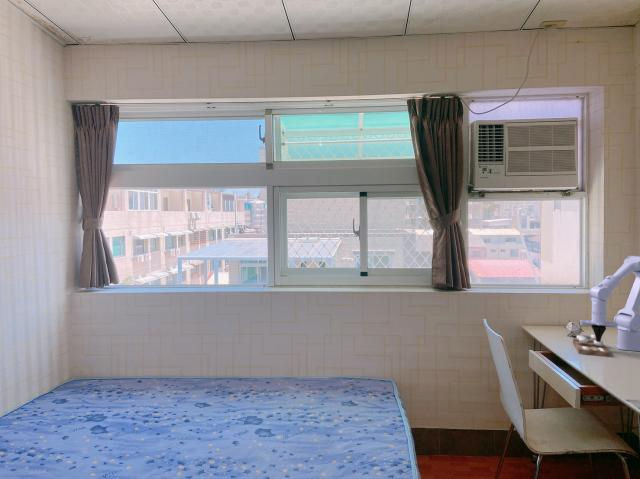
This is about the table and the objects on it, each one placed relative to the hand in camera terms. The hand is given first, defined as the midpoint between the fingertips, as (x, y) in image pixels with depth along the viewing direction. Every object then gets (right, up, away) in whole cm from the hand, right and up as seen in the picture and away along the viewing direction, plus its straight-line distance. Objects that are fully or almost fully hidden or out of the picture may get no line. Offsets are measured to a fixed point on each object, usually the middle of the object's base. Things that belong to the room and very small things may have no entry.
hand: (598, 341), depth 204 cm
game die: (+2, -3, +24) cm, 24 cm away
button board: (-3, -4, +2) cm, 5 cm away
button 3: (0, -2, 0) cm, 2 cm away
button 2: (+3, 0, +7) cm, 7 cm away
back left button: (-3, -1, +9) cm, 9 cm away
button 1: (-6, -1, +2) cm, 6 cm away
